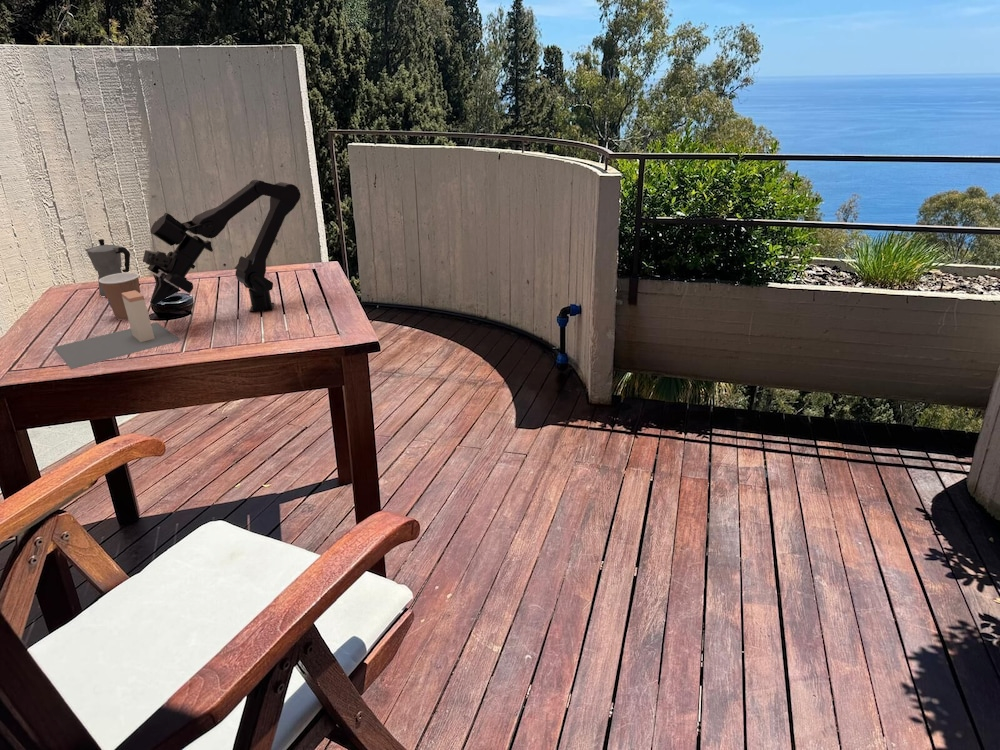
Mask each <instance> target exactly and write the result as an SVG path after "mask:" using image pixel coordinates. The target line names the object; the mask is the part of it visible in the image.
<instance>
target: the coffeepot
mask: <svg viewBox="0 0 1000 750" xmlns="http://www.w3.org/2000/svg"><path fill="white" fill-rule="evenodd" d="M97 241H98V243H99V245H96V246H93V247H88V248H86V249H84V251H85V252H86V253H87V255H88V257H89V260H90V261H91V263H92V266H93V269H94V270H95V272H97V275H98V276H97V277H98V278H97V279H98V290H99V296H100V295H101V296H105V297H106V294H105V292H104V289H103V287H102V285H101V283H100V282H99V279H101V278H103V277H105V276H108V275H112V274H118V273H130V266H131V265H130V260H131V253H130V251H129V250H128V249H127V248H126V247H125V246H120V245H115V244H105V239H101V238H100V239H98V240H97ZM122 254H123V255H124V268H125V269H124V268H123V269H122V266H123V265H122ZM101 296H100V297H101Z"/></svg>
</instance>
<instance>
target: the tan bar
mask: <svg viewBox="0 0 1000 750" xmlns="http://www.w3.org/2000/svg"><path fill="white" fill-rule="evenodd" d="M121 294H122V298H123V301H124V305H125V309H126V312H127V316H128V319H127V320H128V323H129V326H130V329H131V330H132V334H133V336H134V337H135V338H136V339H138V340H139V341H140V342H144V341H148V340H151V339H155V338H154V334H153V330H152V326H151V324H152V322H151V320H150V319H151V318H150V315H149V312H148V308H147V305H146V304H147V303H146V301H145V296H144V295H143V293H141V292H140V293H139V292H137V291H136V290H134V291H129V292H124V293H121Z"/></svg>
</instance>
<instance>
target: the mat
mask: <svg viewBox="0 0 1000 750" xmlns="http://www.w3.org/2000/svg"><path fill="white" fill-rule="evenodd" d="M151 326H152V330H153V334H154V338H155V339H151V340H148V341H144V342H140V341H139V340H138V339H136V338H135V337H134V336H133V334H132V330H131V328H127V329H123V330H120V331H115V332H114V331H113V332H110V333H106V334H102V335H98V336H93V337H90V338H86V339H82V340H77V341H74V342H69V343H65V344H61V345H56V346H52V348H53V350H54V351H55V352H56V353H57V354H58V356H60V358H61V359H62V360H63V361H64V363H65V364H66V365H67V367H69V369H70V370H73V369H77V368H81V367H84V366H88V365H93V364H96V363H100V362H104V361H108V360H111V359H114V358H119V357H122V356H126V355H132V354H135V353H139V352H142V351H145V350H150V349H154V348H157V347H160V346H165V345H169V344H173V343H177V342H180V341H182V339H181V338H179V337H178V336H177V335H176V334H174V333H173V332H171V331H170V330H168V329H167V328H165V326H163V325H162V324H160V323H159V322H158V321H156V322H151Z"/></svg>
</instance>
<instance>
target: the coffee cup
mask: <svg viewBox="0 0 1000 750" xmlns="http://www.w3.org/2000/svg"><path fill="white" fill-rule="evenodd" d="M139 277H140V275H139V273H136V272H122V273H118V274H112V275H108V276H105V277H103V278H101V279H99V281H98V283H99V282H100V283H101V285H102V287H103V289H104V292H105V294H106V297H107V298H106V299H107V302H108V304H109V307H110V308H111V310H112V313H113V315H114V317H115V318H116V320H117V319H118V321H123V320H128V316H127V312H126V309H125V305H124V301H123V298H122V294H121V293H124V292H129V291H134V290H136V291H137V292H139V293H140V294H141V287H140V279H139Z"/></svg>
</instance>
